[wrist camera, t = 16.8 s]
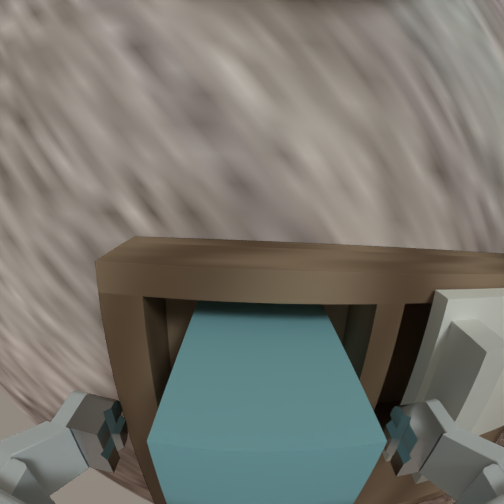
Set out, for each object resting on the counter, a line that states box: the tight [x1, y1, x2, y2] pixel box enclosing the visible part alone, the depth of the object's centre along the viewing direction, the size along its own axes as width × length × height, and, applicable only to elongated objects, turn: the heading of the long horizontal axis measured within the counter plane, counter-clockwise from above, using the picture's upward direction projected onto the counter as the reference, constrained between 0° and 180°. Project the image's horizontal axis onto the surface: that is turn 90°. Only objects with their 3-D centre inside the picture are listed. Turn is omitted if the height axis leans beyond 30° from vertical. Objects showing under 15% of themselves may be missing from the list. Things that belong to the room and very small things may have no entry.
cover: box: [382, 288, 504, 484], centre depth 8 cm, size 8×8×3 cm
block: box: [147, 300, 387, 504], centre depth 9 cm, size 4×4×7 cm
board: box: [95, 237, 504, 504], centre depth 12 cm, size 20×16×4 cm
